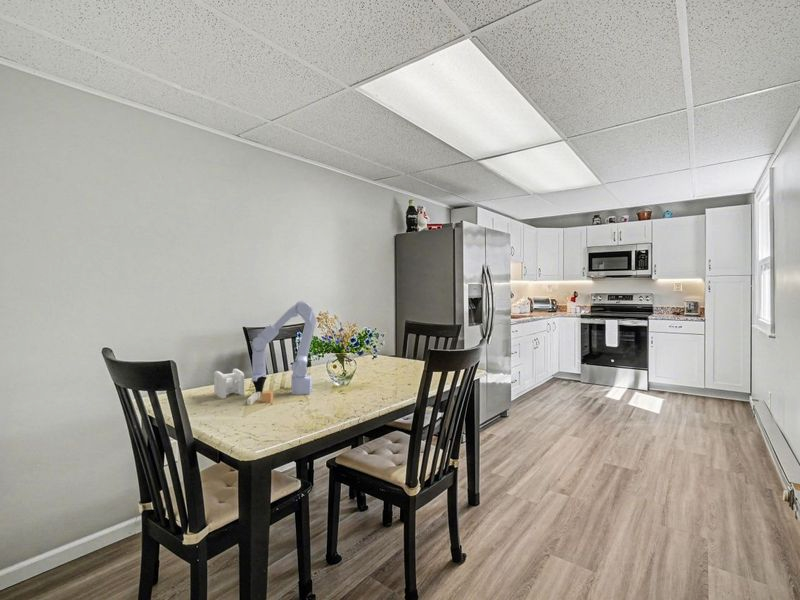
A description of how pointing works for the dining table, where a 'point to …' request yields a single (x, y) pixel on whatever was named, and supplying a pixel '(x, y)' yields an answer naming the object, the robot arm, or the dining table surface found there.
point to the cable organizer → (228, 383)
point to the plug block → (267, 396)
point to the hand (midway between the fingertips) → (259, 393)
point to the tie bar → (253, 398)
